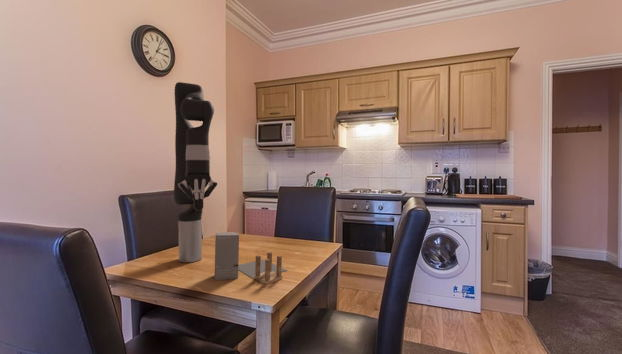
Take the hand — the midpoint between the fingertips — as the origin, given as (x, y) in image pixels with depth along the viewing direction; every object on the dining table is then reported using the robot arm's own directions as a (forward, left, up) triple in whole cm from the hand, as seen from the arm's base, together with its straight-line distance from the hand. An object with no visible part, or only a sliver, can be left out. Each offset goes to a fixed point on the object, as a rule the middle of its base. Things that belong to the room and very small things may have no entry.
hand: (198, 210), depth 100 cm
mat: (0, +23, -25) cm, 34 cm away
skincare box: (0, +10, -25) cm, 27 cm away
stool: (+12, +20, -25) cm, 34 cm away
